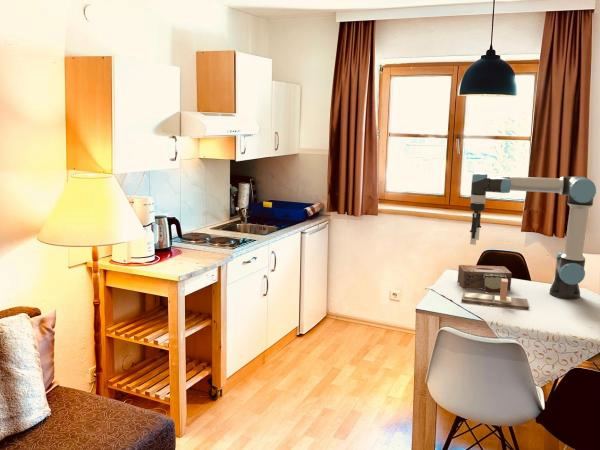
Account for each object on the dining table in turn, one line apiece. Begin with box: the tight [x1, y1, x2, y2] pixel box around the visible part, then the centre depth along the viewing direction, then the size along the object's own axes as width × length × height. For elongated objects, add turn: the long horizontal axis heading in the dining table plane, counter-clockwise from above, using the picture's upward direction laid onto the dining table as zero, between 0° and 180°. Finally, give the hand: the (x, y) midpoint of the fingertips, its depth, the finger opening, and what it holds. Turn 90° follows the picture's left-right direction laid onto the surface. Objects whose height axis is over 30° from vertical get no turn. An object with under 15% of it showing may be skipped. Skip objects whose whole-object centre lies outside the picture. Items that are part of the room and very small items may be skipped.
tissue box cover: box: [457, 264, 513, 291], centre depth 337 cm, size 26×14×10 cm, turn 87°
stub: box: [495, 278, 512, 303], centre depth 305 cm, size 8×8×10 cm
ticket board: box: [461, 291, 530, 311], centre depth 307 cm, size 32×14×2 cm, turn 72°
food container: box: [483, 272, 507, 294], centre depth 326 cm, size 12×6×10 cm, turn 84°
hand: (474, 242), depth 320 cm, fingers open, 13 cm apart
